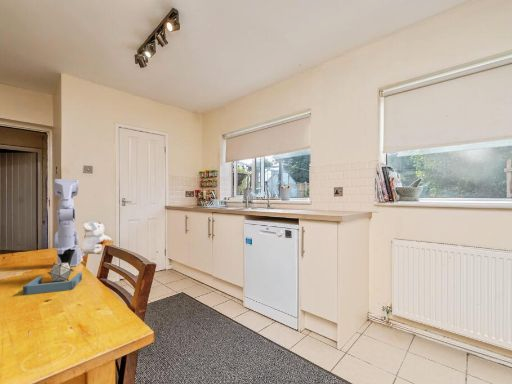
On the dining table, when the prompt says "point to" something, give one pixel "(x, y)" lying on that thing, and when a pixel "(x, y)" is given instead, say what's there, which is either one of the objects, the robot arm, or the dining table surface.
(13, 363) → the dining table surface
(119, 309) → the dining table surface
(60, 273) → the game die
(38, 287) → the chassis
